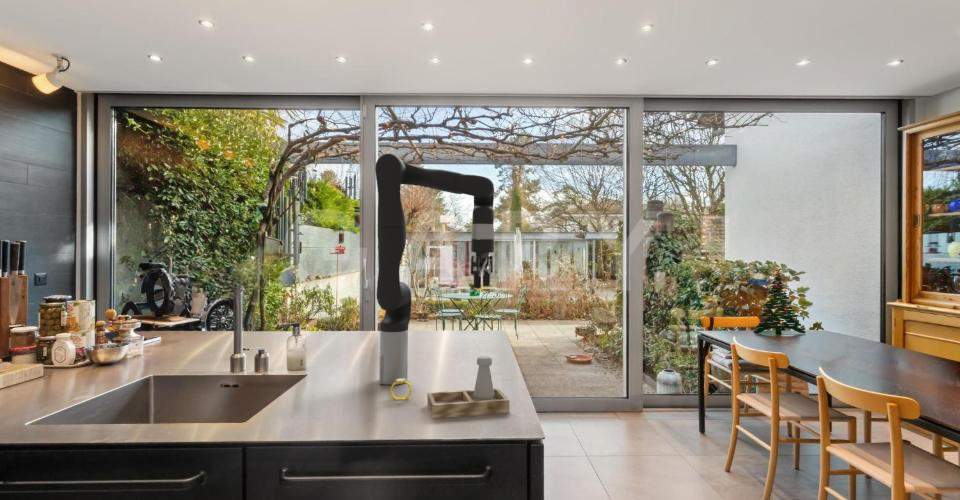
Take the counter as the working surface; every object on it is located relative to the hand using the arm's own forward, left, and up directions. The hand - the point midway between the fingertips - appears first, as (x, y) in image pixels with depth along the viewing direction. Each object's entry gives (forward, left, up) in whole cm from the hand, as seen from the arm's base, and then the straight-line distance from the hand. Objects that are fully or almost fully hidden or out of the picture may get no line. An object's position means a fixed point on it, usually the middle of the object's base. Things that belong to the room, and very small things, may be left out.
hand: (481, 287), depth 156 cm
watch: (-27, -11, -32) cm, 44 cm away
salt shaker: (-5, -22, -31) cm, 39 cm away
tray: (-9, -23, -32) cm, 41 cm away
